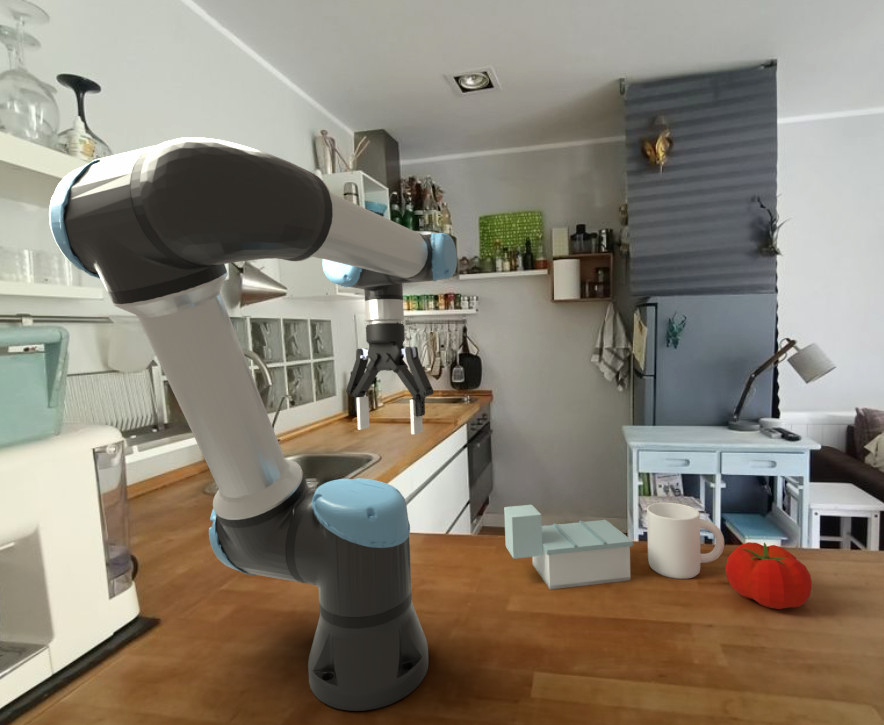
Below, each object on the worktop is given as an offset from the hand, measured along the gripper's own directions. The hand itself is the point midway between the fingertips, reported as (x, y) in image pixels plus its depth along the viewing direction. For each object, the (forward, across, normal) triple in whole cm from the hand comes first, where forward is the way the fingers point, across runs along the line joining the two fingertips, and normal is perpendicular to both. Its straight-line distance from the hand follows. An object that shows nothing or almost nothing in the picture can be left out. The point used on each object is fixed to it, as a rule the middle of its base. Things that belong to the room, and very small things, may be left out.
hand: (389, 431), depth 96 cm
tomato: (+24, -62, -14) cm, 68 cm away
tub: (+24, -34, -9) cm, 43 cm away
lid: (+19, -33, -7) cm, 38 cm away
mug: (+24, -50, -18) cm, 58 cm away
